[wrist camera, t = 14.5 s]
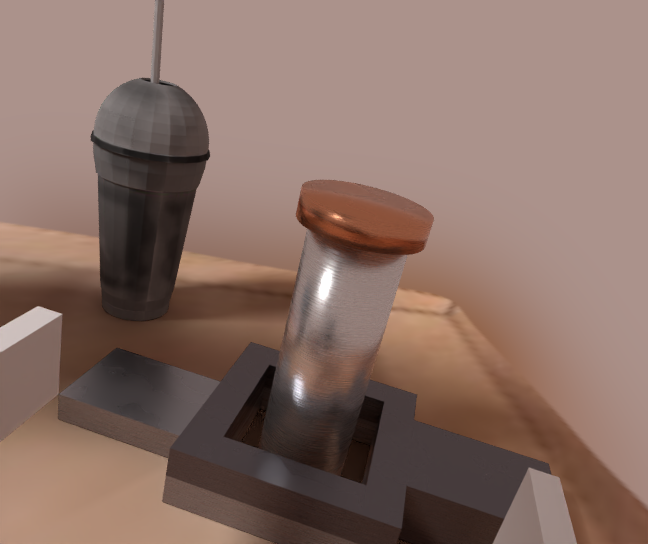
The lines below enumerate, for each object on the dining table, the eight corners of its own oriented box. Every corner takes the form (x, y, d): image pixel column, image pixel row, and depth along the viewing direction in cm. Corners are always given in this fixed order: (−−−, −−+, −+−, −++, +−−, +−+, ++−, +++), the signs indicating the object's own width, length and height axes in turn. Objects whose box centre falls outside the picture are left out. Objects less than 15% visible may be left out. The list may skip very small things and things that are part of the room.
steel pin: (224, 444, 28) (276, 177, 23) (310, 418, 32) (372, 182, 26) (282, 525, 24) (361, 227, 19) (373, 486, 28) (461, 224, 23)
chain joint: (21, 450, 25) (22, 396, 24) (137, 349, 34) (142, 307, 33) (550, 642, 22) (580, 591, 21) (522, 475, 31) (541, 433, 30)
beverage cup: (200, 296, 43) (242, 19, 35) (167, 341, 36) (211, 10, 28) (109, 274, 43) (131, -8, 35) (58, 315, 36) (73, -23, 28)
